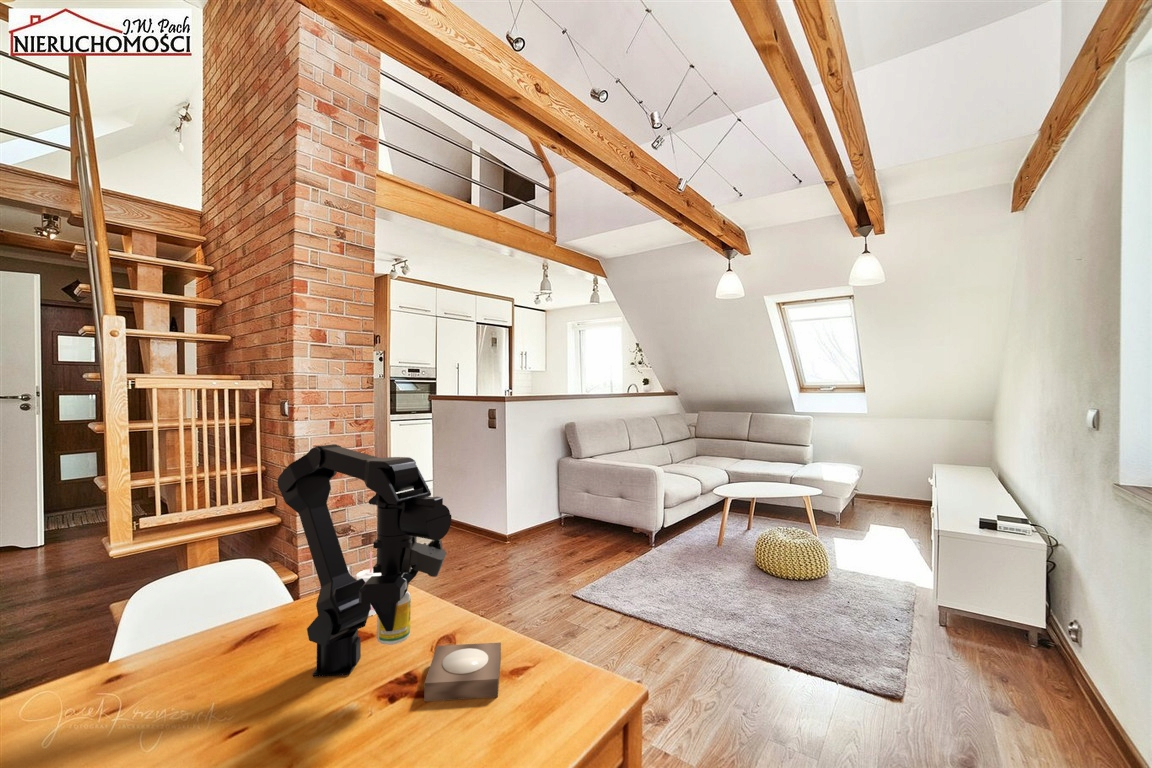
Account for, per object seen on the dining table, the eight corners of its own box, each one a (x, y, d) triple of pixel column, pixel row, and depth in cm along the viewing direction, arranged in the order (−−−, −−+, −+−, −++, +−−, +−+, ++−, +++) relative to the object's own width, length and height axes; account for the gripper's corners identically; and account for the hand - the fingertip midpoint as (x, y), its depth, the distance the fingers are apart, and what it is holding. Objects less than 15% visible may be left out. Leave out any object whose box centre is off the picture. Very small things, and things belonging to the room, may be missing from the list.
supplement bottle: (372, 636, 84) (373, 580, 85) (403, 627, 88) (404, 573, 88) (383, 649, 80) (383, 590, 80) (415, 639, 83) (415, 582, 84)
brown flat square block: (424, 701, 80) (424, 682, 80) (436, 661, 92) (437, 644, 92) (497, 696, 82) (497, 677, 82) (500, 658, 94) (501, 641, 94)
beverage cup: (370, 604, 117) (371, 545, 117) (390, 609, 115) (390, 549, 115) (349, 615, 112) (350, 553, 112) (369, 620, 109) (370, 557, 109)
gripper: (432, 547, 76) (431, 648, 76) (450, 517, 94) (449, 598, 94) (358, 549, 75) (356, 652, 74) (390, 518, 93) (390, 600, 93)
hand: (393, 622), depth 84 cm, fingers closed on supplement bottle, 5 cm apart
